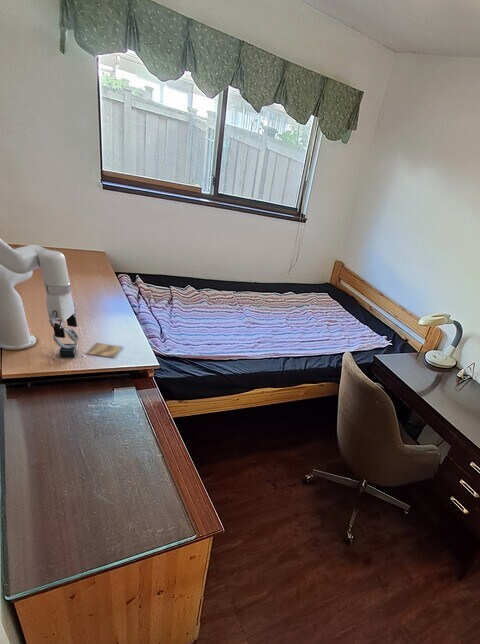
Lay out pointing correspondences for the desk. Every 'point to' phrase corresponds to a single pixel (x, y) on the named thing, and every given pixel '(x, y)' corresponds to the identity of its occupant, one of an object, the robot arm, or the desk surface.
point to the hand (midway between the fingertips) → (66, 331)
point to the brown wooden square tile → (104, 350)
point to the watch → (68, 349)
